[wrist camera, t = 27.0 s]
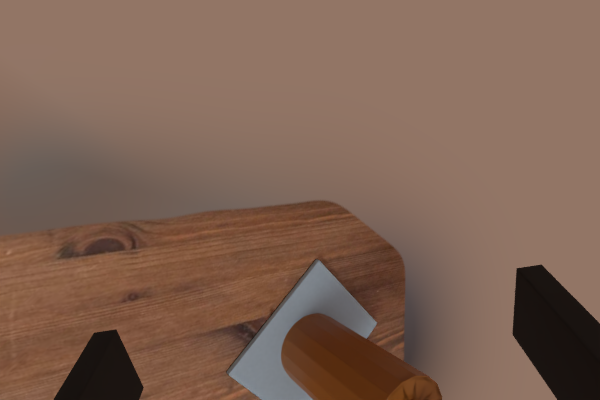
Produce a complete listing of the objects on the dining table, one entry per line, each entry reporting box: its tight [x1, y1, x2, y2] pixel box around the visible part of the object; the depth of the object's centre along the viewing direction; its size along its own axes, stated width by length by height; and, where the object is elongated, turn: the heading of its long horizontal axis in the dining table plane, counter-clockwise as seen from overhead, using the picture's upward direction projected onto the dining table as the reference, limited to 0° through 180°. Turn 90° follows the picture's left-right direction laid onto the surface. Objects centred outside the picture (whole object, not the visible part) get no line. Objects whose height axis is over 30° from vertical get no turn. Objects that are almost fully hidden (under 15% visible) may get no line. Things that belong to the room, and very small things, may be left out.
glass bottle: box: [281, 313, 442, 400], centre depth 35 cm, size 7×7×18 cm
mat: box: [227, 259, 377, 400], centre depth 43 cm, size 14×12×1 cm
